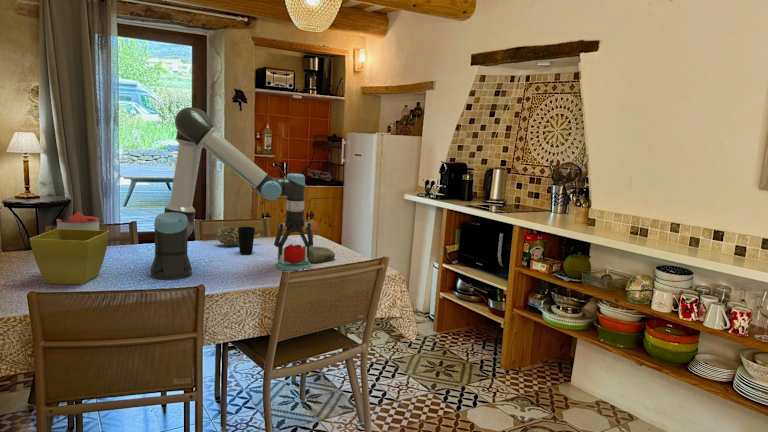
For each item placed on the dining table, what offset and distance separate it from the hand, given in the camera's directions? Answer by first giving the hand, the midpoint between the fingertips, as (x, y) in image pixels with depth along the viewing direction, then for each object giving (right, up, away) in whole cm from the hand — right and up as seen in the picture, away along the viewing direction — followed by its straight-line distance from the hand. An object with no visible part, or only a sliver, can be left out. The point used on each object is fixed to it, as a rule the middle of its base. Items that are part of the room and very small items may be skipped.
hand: (293, 261), depth 227 cm
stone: (+10, -1, +14) cm, 17 cm away
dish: (0, -2, 0) cm, 2 cm away
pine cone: (-33, +5, +35) cm, 49 cm away
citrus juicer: (-89, +2, -7) cm, 89 cm away
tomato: (0, -1, 0) cm, 0 cm away
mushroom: (+2, +3, +37) cm, 37 cm away
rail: (-4, -1, +8) cm, 9 cm away
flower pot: (-74, -4, -36) cm, 82 cm away
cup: (-25, +2, +19) cm, 32 cm away
